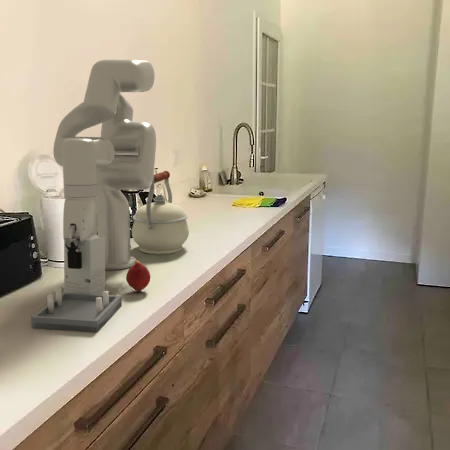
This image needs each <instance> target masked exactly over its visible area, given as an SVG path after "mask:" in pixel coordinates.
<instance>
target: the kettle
mask: <svg viewBox="0 0 450 450" xmlns="http://www.w3.org/2000/svg"><path fill="white" fill-rule="evenodd" d="M170 177H171V174H170V171H168V170H163V171H162V172H158V173H155V174H154V175H153V181H152V184H151V186H150V187H149V191H148V195H147V200H146V204H143V205H142V206H140V207H139V208H138V209H137V210H136V212H135V214H134V215H132V219H133V225H132V230H131V236H132V239H133V241H134V242H135V244H137V246H138V250H139V251H140V252H142V253H144V254H148V255H169V254H175V253H177V252H179V251H182V249H183V245H184V243H186V241H187V239H188V238H189V231H190V230H189V225H188V223H187V219H188V218H189V217H188V214H186V213H185V211H184V210H183V208H182V207H181V206H180V205H177V204H175V203H173V193H172V190H171V185H170V179H169V178H170ZM162 181H164V185H165V188H166V192H167V199H166V197H165V196H164V195H162V194H158V195H156V196H155V197H154V199H153V196H154V192H155V184H156V183H160V182H162ZM152 201H154V202H152ZM166 201H167V202H166Z"/></svg>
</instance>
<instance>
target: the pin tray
mask: <svg viewBox="0 0 450 450" xmlns="http://www.w3.org/2000/svg"><path fill="white" fill-rule="evenodd" d="M46 297H47V298H46V301H47V304H46V305H45V306H44V307H42V308H41V309H39V310H38V311H37V312H35V313H34V314H33V315H32V316H31V318H30V319H31V320H30V321H31V322H30V323H31V328H32V329H42V330H56V331H70V332H84V333H85V332H86V333H98V332H100V331H101V330H102V328H103V327H104V325H106V324H107V322H108V321H110V319H111V318H113V316H114V315H115V314H116V313H117V311H118V310H119V309H120V308H121V307H122V306H123V305H122V295H111V294H109V291H108V290H105V291H103V295H98V294H80V293H64V292H62V288H61V287H60V288H58V287H57V288H55V298H54V294H50V293H49V294H47V295H46Z"/></svg>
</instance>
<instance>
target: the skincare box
mask: <svg viewBox="0 0 450 450" xmlns="http://www.w3.org/2000/svg"><path fill="white" fill-rule="evenodd" d="M77 239H79V238H77ZM75 245H76V246H77V243H75ZM80 252H82V268H81V269H70V268H68V258H67V251H66V246H65V241H64V240H63V255H64V256H63V257H64V258H63V262H64V263H63V266H64V267H63V272H64V273H63V274H64V275H63V276H64V279H63V281H64V282H63V283H64V284H63V285H64V287H63V288H64V290H63V293H80V294H98V295H103V291H106V290H105V289H106V269H105V236H100V235H93V236H91V237H90V238H88V239H87V240H86V241H84V242H82V244H81V248H80Z"/></svg>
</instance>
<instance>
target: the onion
mask: <svg viewBox="0 0 450 450" xmlns="http://www.w3.org/2000/svg"><path fill="white" fill-rule="evenodd" d="M125 279H126V283H127V284H128V286H129V287H131V289H133V290H134V291H135V292H137V293H140V292H141V291H143V290H144V289H146V288H147V287H148V286H149V283H150V281H151V273H150V270H149V269H148V268H147V267H146V266H145V265H144V264H142V263H141V262H140V261H139V260H137V259H136V261H135V264H134V265H133V266H131V267H129V269H128V271H127V273H126V277H125Z"/></svg>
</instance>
